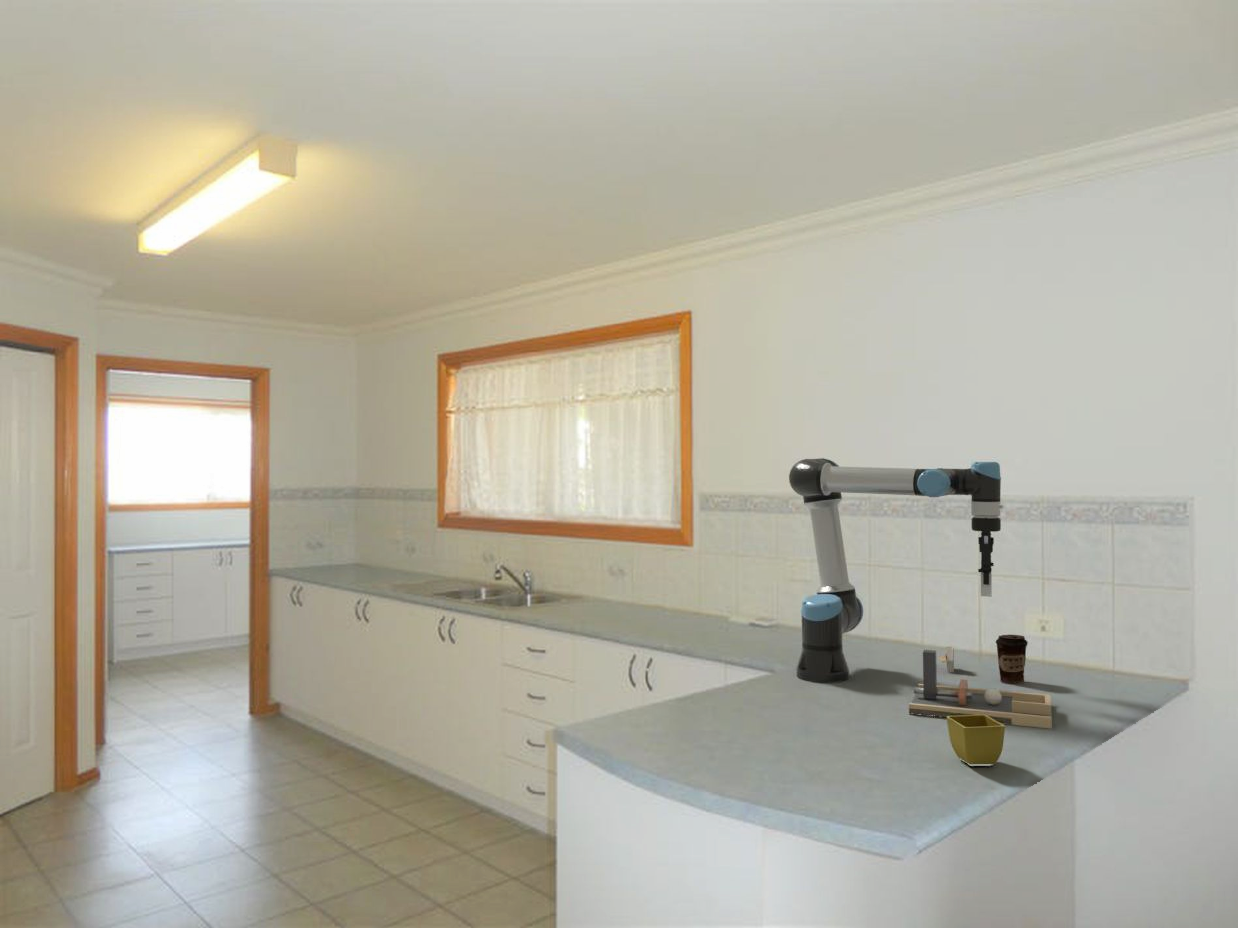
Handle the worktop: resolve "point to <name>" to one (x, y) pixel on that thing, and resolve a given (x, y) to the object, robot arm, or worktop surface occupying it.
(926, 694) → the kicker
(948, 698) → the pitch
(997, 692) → the ball
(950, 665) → the architectural model
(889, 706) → the worktop surface
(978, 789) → the worktop surface
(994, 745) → the flower pot
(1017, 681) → the coffee cup
